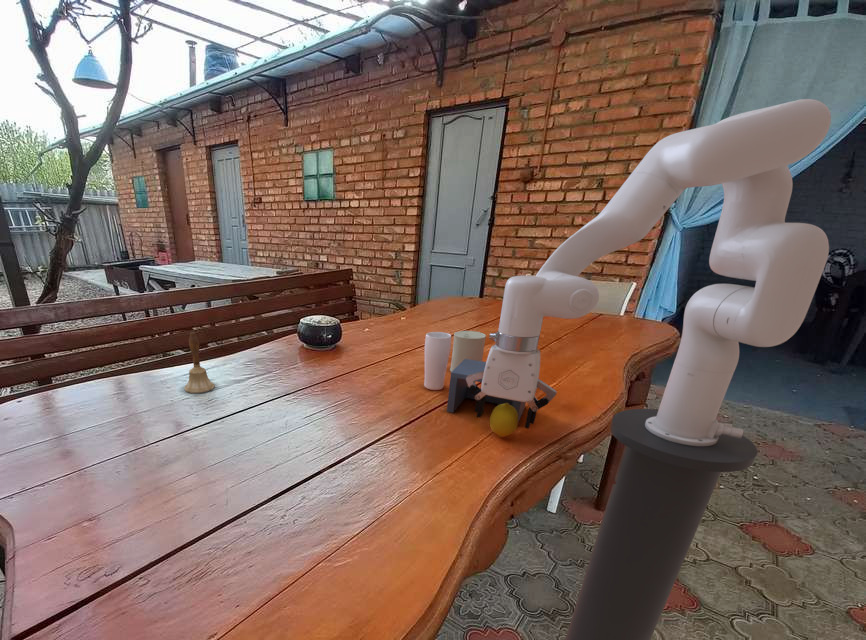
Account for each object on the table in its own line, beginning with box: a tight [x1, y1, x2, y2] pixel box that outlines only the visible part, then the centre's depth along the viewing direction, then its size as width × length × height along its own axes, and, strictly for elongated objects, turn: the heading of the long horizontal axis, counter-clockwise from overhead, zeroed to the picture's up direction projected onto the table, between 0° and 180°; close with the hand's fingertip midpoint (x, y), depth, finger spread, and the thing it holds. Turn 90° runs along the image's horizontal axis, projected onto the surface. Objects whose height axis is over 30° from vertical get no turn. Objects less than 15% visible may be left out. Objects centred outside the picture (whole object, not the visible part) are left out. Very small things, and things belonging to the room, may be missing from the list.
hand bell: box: [183, 331, 216, 394], centre depth 117 cm, size 8×8×16 cm
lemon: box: [489, 403, 519, 438], centre depth 90 cm, size 6×6×8 cm
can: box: [449, 330, 487, 373], centre depth 128 cm, size 9×9×12 cm
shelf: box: [446, 359, 527, 423], centre depth 102 cm, size 16×12×10 cm
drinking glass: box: [423, 331, 452, 391], centre depth 115 cm, size 7×7×15 cm
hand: (503, 420), depth 90 cm, fingers open, 9 cm apart
